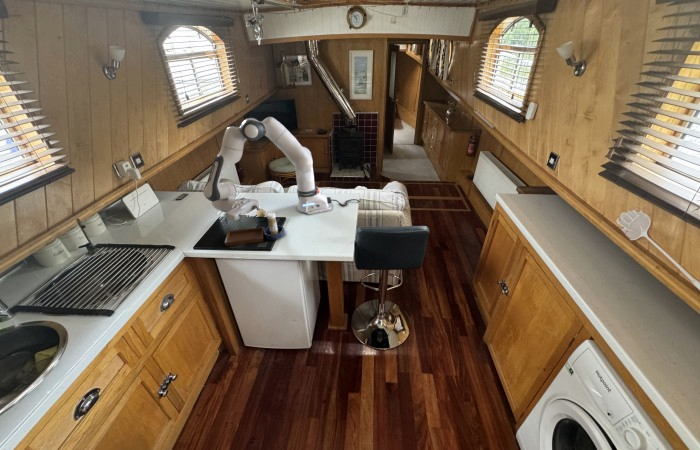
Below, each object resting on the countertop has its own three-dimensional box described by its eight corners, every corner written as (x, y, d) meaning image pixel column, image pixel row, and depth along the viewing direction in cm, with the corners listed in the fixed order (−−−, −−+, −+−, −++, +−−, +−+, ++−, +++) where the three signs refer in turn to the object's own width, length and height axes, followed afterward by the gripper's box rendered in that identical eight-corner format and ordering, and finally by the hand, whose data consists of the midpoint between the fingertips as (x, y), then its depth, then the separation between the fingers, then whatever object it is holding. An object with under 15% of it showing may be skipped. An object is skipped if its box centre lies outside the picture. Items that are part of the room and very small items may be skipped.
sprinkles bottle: (269, 234, 162) (264, 214, 155) (275, 231, 165) (271, 211, 158) (273, 237, 160) (269, 217, 153) (280, 234, 163) (276, 213, 156)
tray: (264, 230, 166) (264, 226, 165) (263, 241, 157) (262, 238, 155) (229, 234, 164) (228, 230, 162) (225, 246, 154) (224, 242, 152)
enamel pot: (284, 227, 169) (283, 223, 167) (284, 240, 158) (283, 235, 156) (265, 229, 167) (264, 225, 166) (264, 242, 156) (263, 237, 154)
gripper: (220, 210, 156) (239, 215, 151) (247, 195, 172) (264, 200, 167) (223, 220, 160) (241, 225, 154) (249, 205, 175) (266, 209, 170)
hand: (254, 212), depth 161 cm, fingers open, 8 cm apart
